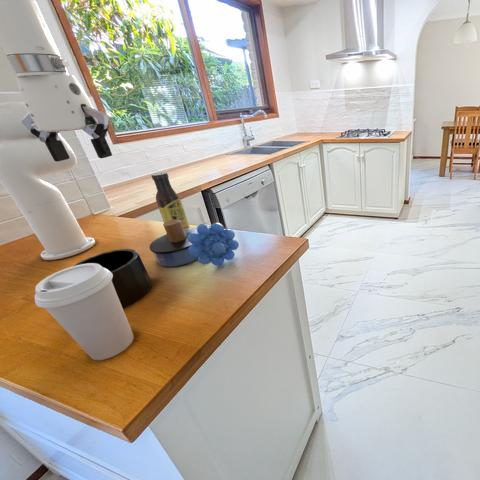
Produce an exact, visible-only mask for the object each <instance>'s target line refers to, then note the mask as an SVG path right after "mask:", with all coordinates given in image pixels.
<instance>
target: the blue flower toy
mask: <svg viewBox="0 0 480 480" xmlns="http://www.w3.org/2000/svg"><path fill="white" fill-rule="evenodd" d="M196 229H197V232H198V233H199V234H198V233H191V234H189V236H188V241H189V242H190V243H191V244H194V245H191V246H190V247H189V249H188V250H189V253H190V254H191V255H193V256H198V259H197V262H199V263H200V264H202V265H209V264H212V265H214V266H216V267H219V266H222V265H224V264H225V260H226V261H231V260H233V259H234V258H235V255H236V254H235V252H234V251H236V250H238V248H239V246H240V245H239V242H238V241H237V240H236V239H234V238H235V236H236V234H235V232H234V230H233V229H230V228H225V226H224V225H223V224H222V223H221V222H220V223H219V222H214V223H212V224H211V225H208V224H207V223H200V224H199V225H198V226H197V227H196Z"/></svg>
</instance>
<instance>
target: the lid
mask: <svg viewBox="0 0 480 480" xmlns="http://www.w3.org/2000/svg"><path fill="white" fill-rule="evenodd" d="M162 225H163V228H164V230H165V232H166V233H165V234H163V235H161V236H159V237H157V238H156V239H154V240H153V241H152V242H151V243H149V250H150V252H152V254H154V253H157V254H168V253H174V252H179V251H182V250H185V249H188V248H189V247H190V246H191V245H194V244H191V243H190V242H189V241H188V236H189V234H191V233H198V232H197V227H196V228H194V227H193V228H190V229H183V227H182V224H181V221H180V220H178V219H175V220H170V221H167V222H165V223H164V222H163V224H162ZM198 234H199V233H198Z"/></svg>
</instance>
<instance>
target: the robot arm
mask: <svg viewBox="0 0 480 480" xmlns="http://www.w3.org/2000/svg"><path fill="white" fill-rule="evenodd" d="M0 47H1V49H2V51H3V53H4V55H5V57H6V59H7V60H8V62H9V64H10V66H11V68H12V70H13V72H14V73H15V76H16V77H15V82H16V84H17V87H18V90H19V93H20V95H21V98H22V101H5V102H4V101H3V102H2V101H1V102H0V185H2V187H3V188H4V189H5V190H6V192H7V194H8V195H9V196H10V198H11V199H12V201H13V202H14V203H15V205H16V207H17V208H18V210H19V211H20V212H21V214H22V216H23V217H24V219H25V220H26V223H28V225H29V227H30V228H31V230H32V231H33V233H34V234H35V236H36V238H37V239H38V241H39V242H40V244H41V246H42V247H43V248H44V250H42V251H41V253H40V257H41V259H42V260H44V261H56V260H62V259H66V258H69V257H73V256H76V255H78V254H81V253H83V252H86V251H87V250H89V249H91V248H92V247H94V246H95V244H96V240H95V238H94V237H90V236H86V235H85V233H84V231H83V229H82V228H81V226H80V224H79V221H77V219H76V217H75V215H74V213H73V212H72V209H71V207H70V206H69V204H68V201H66V199H65V197H64V196H63V194H62V192H61V190H60V189H58V188H57V187H56V186H55V185H53V184H51V183H49V182H46V181H44V180H43V179H41V178H42V177H45V176H49V175H54V174H57V173H62V172H63V173H64V172H67V171H70V170H73V169H74V168H75V167H76V166H77V163H78V158H77V156H76V154H75V152H74V151H73V149H72V148H71V146H70V145H69V144H68V142H67V141H66V140H65V138H64V137H62V135H61V134H60V132H69V131H72V132H73V131H80V130H82V131H84V133H86V134H87V135H88V136H90V137H91V138H90V143H91V144H92V147H93V149H94V151H95V153H96V156H97V157H98V158H99V159H105V158H109V157H112V156H113V153H112V151H111V148H110V146H109V143H108V141H107V139H106V137H107V136H108V130H109V128H110V126H109V117H110V116H109V115H108V114H107V113H105V112H103V111H100V110H99V109H95V108H94V106H93V105H92V103H91V101H90V99H89V98H88V97H89V96H87V94H86V92H85V91H84V89H83V87H82V85H81V84H80V83H79V81H78V80H77V78H76V77H75V76H74V75H73V74H70V73H69V72H68V69H67V68H68V67H69V65H70V64H69V62H68V61H67V60H66V59H65V58H62V57H61V54H60V52H59V49H58V48H57V45H56V43H55V41H54V39H53V36H52V34H51V32H50V29H49V27H48V25H47V23H46V21H45V18H44V16H43V14H42V12H41V9H40V7H39V5H38V3H37V0H0Z"/></svg>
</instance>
